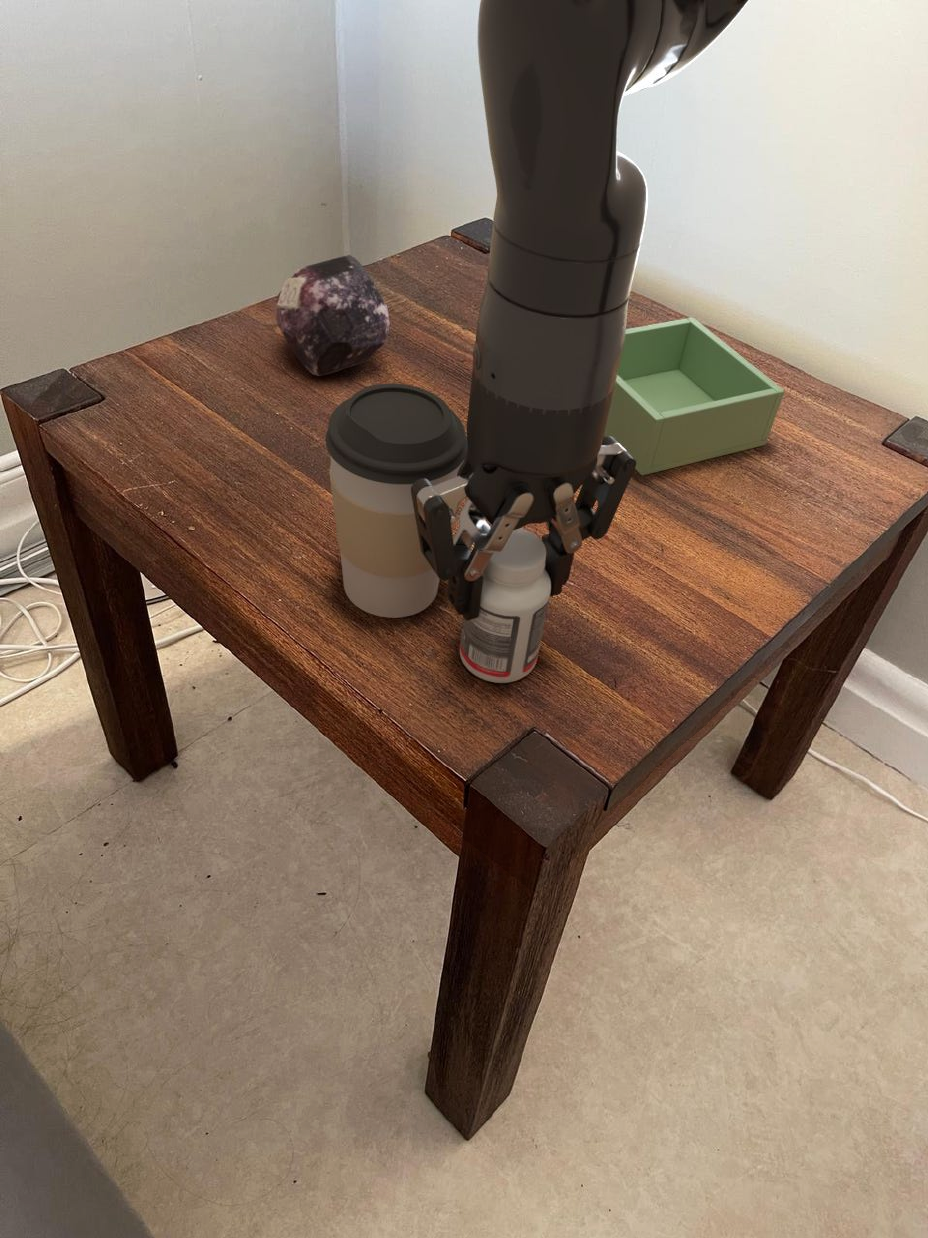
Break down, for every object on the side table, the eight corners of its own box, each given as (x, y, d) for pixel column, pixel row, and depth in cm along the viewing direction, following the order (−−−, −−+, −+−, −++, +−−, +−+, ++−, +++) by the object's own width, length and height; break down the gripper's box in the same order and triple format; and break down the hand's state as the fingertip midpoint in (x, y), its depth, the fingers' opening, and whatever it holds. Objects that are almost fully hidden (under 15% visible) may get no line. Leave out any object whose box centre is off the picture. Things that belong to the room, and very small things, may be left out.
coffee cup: (403, 528, 75) (412, 354, 64) (478, 595, 70) (501, 419, 60) (303, 573, 70) (296, 393, 60) (377, 647, 66) (383, 467, 55)
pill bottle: (510, 619, 69) (528, 511, 62) (551, 670, 66) (575, 562, 59) (444, 642, 67) (455, 533, 60) (483, 696, 64) (499, 587, 57)
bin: (678, 369, 96) (692, 316, 92) (765, 444, 88) (785, 390, 84) (561, 393, 91) (570, 338, 87) (641, 475, 83) (656, 419, 79)
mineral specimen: (276, 307, 94) (315, 217, 88) (372, 360, 96) (417, 277, 90) (246, 354, 87) (286, 260, 80) (350, 411, 89) (397, 324, 83)
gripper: (453, 429, 46) (430, 670, 58) (698, 378, 51) (631, 608, 63) (389, 351, 50) (381, 589, 62) (620, 311, 56) (572, 538, 67)
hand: (507, 598), depth 62 cm, fingers closed on pill bottle, 5 cm apart
